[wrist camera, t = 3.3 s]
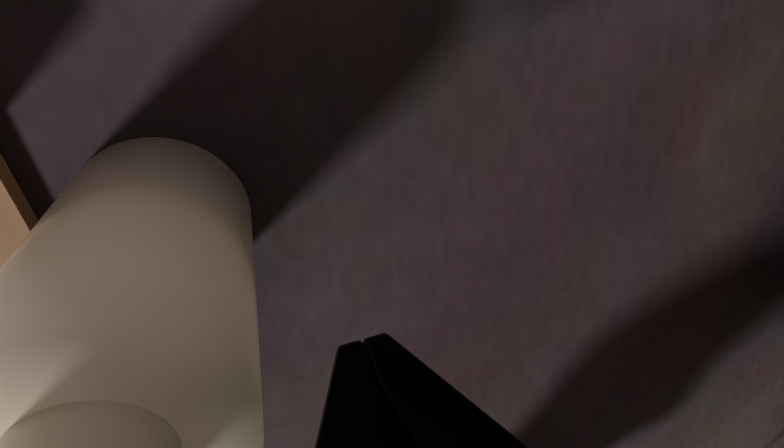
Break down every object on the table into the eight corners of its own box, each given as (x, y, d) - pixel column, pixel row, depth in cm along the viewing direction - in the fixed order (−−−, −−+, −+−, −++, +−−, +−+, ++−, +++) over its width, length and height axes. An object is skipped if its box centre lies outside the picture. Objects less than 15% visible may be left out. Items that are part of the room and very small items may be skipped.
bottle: (225, 121, 13) (187, 603, 3) (268, 265, 15) (324, 797, 5) (33, 157, 12) (-925, 1017, 2) (110, 304, 14) (-170, 1030, 4)
